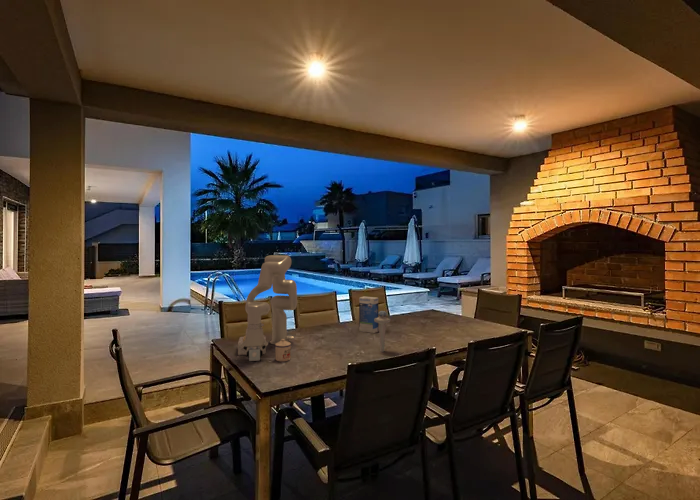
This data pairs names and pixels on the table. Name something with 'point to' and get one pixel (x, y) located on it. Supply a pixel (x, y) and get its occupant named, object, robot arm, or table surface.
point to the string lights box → (368, 314)
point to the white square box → (241, 350)
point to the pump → (254, 353)
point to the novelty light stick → (382, 328)
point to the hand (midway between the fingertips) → (254, 357)
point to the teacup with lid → (283, 350)
